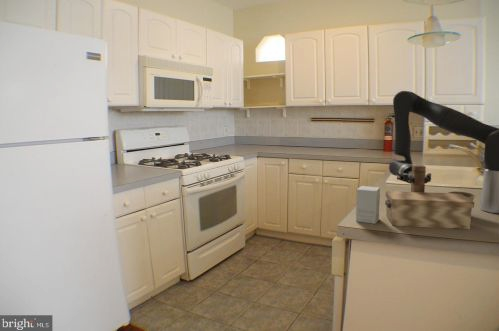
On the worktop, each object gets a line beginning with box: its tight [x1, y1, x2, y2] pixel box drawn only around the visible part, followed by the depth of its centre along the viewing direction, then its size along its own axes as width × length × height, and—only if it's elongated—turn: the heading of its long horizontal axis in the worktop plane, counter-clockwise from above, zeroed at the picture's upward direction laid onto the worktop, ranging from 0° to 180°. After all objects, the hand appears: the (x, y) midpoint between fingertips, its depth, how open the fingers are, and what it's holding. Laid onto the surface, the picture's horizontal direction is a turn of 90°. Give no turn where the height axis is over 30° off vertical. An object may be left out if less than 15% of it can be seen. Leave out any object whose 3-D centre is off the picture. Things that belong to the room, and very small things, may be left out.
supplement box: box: [355, 185, 381, 225], centre depth 138 cm, size 7×7×13 cm
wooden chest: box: [384, 190, 475, 230], centre depth 139 cm, size 28×21×10 cm
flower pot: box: [447, 190, 476, 202], centre depth 144 cm, size 9×9×9 cm
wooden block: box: [410, 164, 427, 192], centre depth 144 cm, size 4×4×14 cm
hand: (420, 180), depth 141 cm, fingers closed on wooden block, 4 cm apart
